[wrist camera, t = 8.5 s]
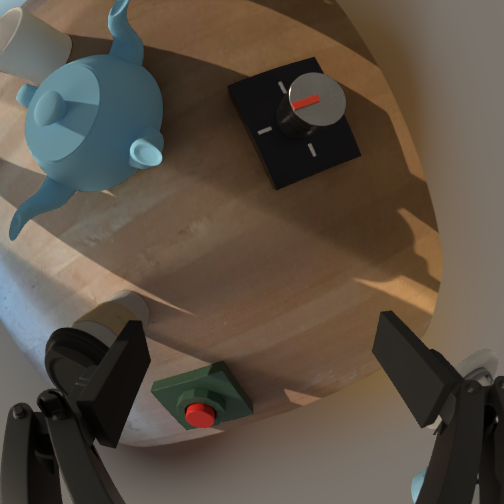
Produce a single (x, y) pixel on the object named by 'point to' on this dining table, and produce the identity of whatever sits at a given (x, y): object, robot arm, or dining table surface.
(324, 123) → the stove knob
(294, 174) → the panel
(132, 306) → the coffee cup
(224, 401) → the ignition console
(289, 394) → the dining table surface
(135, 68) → the teapot
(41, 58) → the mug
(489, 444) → the robot arm
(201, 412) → the button
